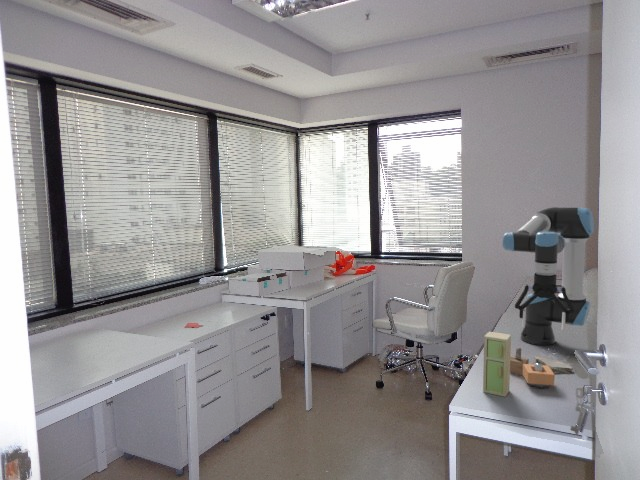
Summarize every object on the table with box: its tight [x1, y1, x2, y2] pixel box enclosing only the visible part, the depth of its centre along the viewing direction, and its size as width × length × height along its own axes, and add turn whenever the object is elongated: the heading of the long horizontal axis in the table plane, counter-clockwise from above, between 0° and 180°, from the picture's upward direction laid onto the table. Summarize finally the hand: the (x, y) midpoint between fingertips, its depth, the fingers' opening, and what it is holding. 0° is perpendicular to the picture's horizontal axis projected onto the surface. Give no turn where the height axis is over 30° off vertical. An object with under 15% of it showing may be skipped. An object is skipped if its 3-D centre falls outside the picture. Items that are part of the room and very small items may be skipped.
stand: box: [510, 346, 530, 376], centre depth 186 cm, size 6×6×10 cm
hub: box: [526, 362, 549, 390], centre depth 173 cm, size 7×7×8 cm
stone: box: [533, 355, 574, 374], centre depth 191 cm, size 15×11×3 cm
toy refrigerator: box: [482, 331, 512, 398], centre depth 166 cm, size 8×7×21 cm
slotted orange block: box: [522, 363, 556, 386], centre depth 173 cm, size 9×9×4 cm
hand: (542, 328), depth 175 cm, fingers open, 13 cm apart
